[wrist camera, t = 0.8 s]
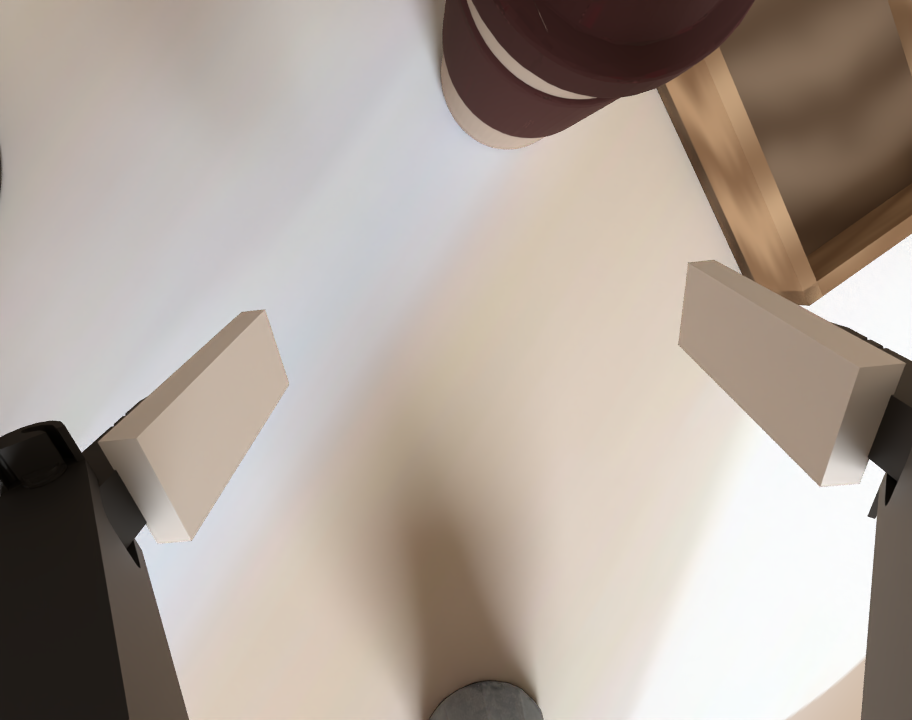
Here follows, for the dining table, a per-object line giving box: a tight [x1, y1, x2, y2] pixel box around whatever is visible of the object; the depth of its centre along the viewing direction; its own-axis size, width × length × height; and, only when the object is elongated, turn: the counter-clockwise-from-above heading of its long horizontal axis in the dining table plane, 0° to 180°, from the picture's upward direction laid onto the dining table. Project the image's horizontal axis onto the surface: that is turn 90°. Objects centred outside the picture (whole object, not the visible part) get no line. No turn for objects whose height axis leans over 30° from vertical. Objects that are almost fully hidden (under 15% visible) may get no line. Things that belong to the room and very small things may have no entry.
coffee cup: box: [441, 0, 755, 149], centre depth 19 cm, size 10×10×15 cm
